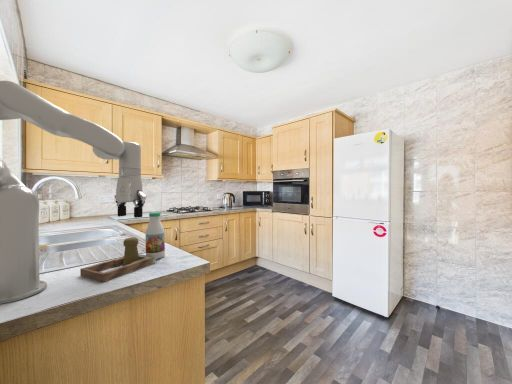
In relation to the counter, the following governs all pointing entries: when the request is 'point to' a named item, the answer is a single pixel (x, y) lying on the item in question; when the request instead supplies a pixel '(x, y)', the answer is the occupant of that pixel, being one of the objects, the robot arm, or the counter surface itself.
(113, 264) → the keyhole board
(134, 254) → the cork
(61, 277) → the counter surface
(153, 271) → the counter surface
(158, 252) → the milk bottle
